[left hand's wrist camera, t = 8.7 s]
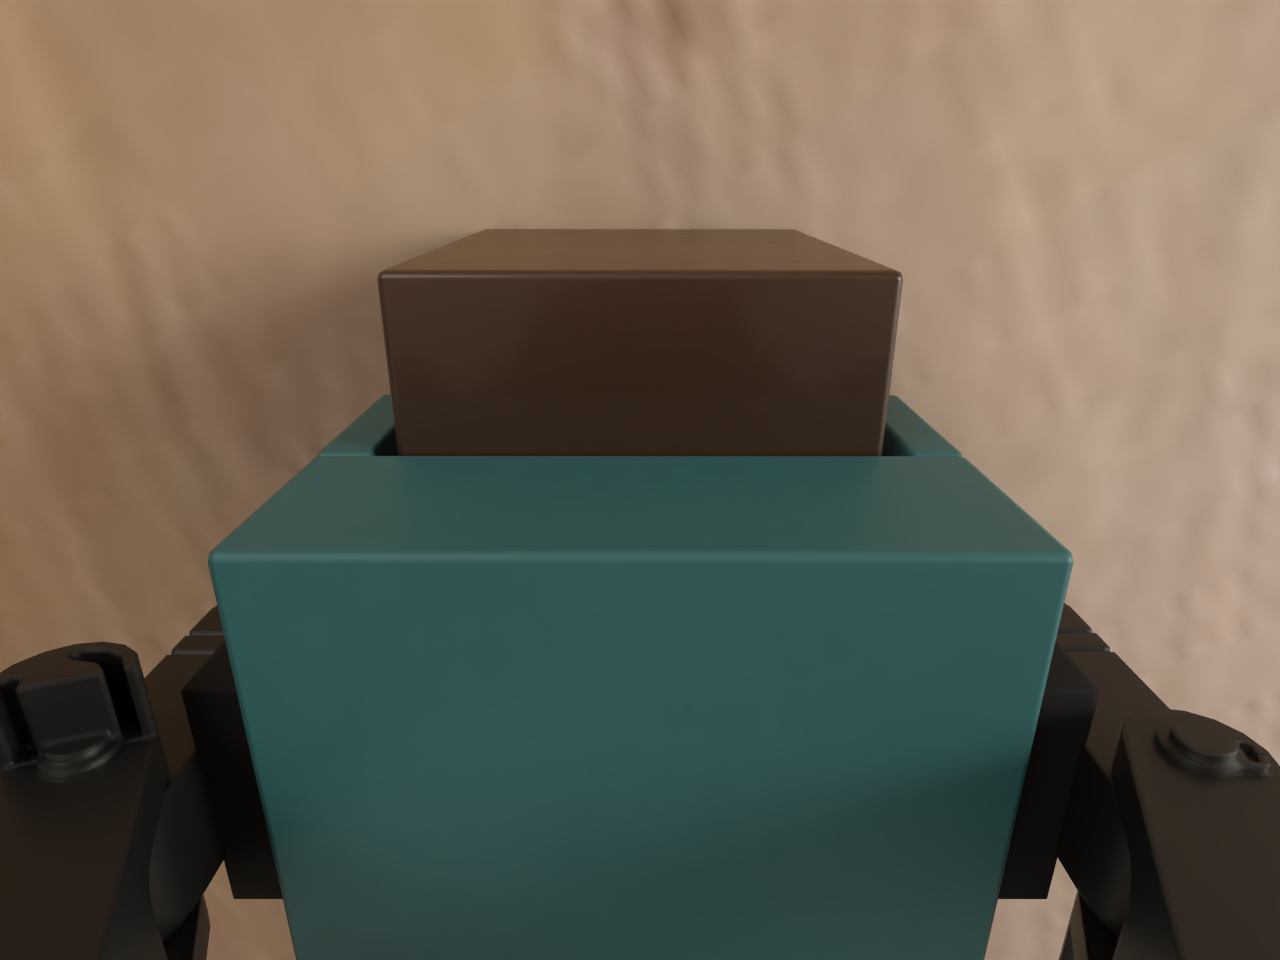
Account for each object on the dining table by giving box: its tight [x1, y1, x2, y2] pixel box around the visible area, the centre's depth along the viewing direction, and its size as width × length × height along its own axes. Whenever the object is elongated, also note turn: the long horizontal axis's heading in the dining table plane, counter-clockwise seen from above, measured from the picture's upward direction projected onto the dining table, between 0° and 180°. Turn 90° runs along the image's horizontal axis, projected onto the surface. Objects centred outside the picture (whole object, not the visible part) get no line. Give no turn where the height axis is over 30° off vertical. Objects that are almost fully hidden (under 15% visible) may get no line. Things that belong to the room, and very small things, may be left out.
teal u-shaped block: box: [208, 395, 1073, 960], centre depth 10 cm, size 6×7×5 cm
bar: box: [378, 229, 903, 456], centre depth 16 cm, size 26×6×6 cm, turn 0°
